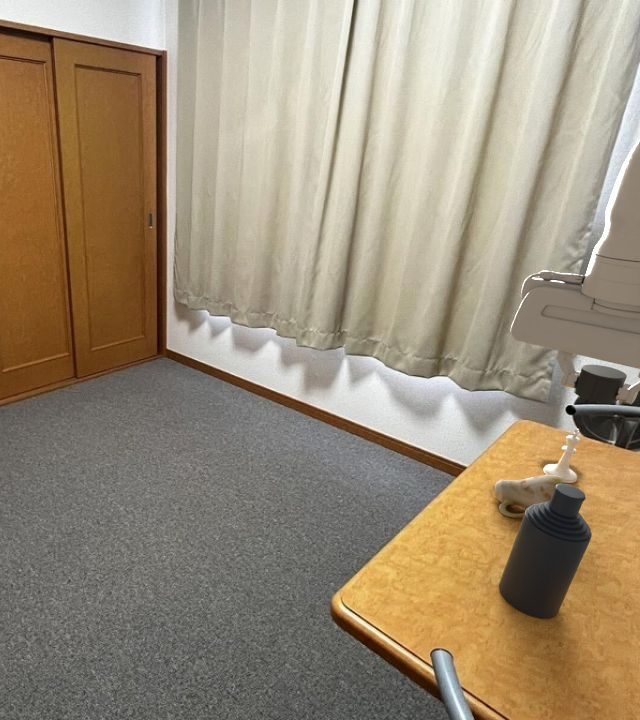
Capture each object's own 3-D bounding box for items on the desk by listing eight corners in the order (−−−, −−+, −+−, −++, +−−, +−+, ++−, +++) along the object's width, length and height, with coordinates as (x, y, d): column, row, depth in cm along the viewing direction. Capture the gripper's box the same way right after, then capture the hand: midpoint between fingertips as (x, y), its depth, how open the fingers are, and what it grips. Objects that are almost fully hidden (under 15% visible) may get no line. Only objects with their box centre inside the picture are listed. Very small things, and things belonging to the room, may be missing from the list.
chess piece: (580, 476, 88) (599, 430, 84) (570, 486, 85) (589, 439, 81) (549, 464, 92) (565, 419, 88) (538, 473, 89) (555, 427, 85)
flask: (540, 580, 67) (583, 476, 60) (569, 622, 61) (620, 512, 54) (489, 575, 68) (525, 472, 61) (513, 615, 62) (556, 506, 55)
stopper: (611, 406, 56) (621, 381, 54) (568, 394, 59) (576, 370, 57) (621, 396, 58) (631, 372, 57) (579, 385, 61) (588, 361, 60)
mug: (485, 486, 86) (531, 449, 82) (537, 528, 82) (588, 492, 78) (483, 499, 80) (531, 460, 76) (539, 545, 76) (593, 507, 72)
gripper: (517, 271, 59) (491, 372, 64) (773, 306, 44) (710, 435, 49) (537, 264, 62) (510, 361, 68) (781, 294, 47) (722, 416, 52)
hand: (596, 392), depth 58 cm, fingers closed on stopper, 4 cm apart
